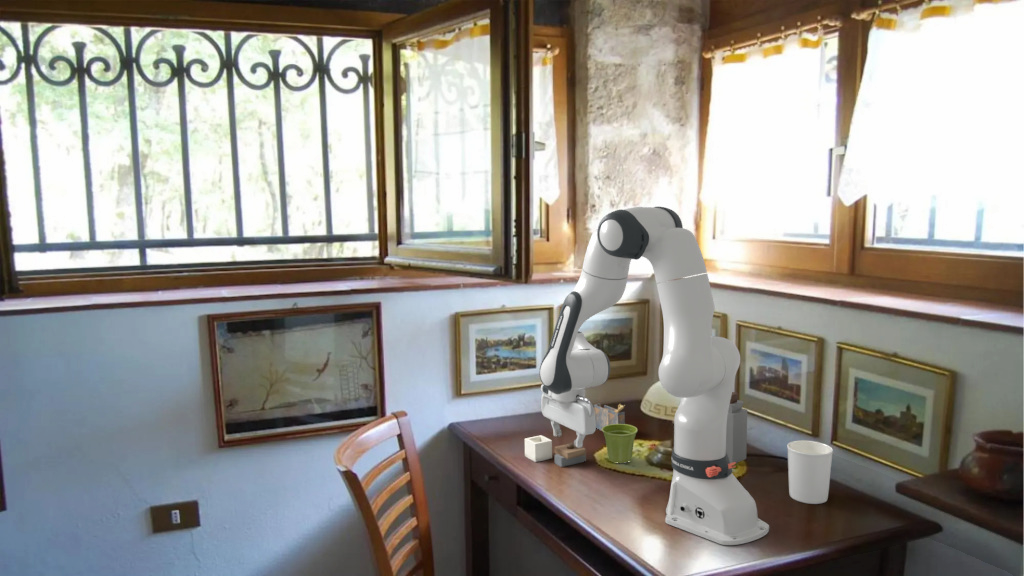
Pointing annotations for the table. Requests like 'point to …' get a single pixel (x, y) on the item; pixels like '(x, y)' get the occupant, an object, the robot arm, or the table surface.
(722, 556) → the table surface
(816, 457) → the candle holder
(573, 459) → the gray rectangular block
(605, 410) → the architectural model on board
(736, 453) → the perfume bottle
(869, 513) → the table surface
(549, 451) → the white open box
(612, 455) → the plant pot
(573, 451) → the lid
